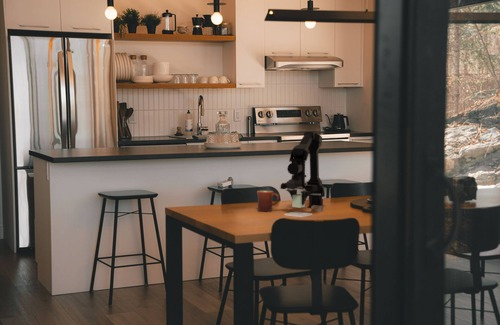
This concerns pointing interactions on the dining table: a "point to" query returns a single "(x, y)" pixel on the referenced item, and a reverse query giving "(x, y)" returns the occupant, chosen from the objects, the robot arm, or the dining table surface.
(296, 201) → the sage block
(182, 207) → the dining table surface
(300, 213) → the trivet
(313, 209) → the walnut block
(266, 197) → the mug
